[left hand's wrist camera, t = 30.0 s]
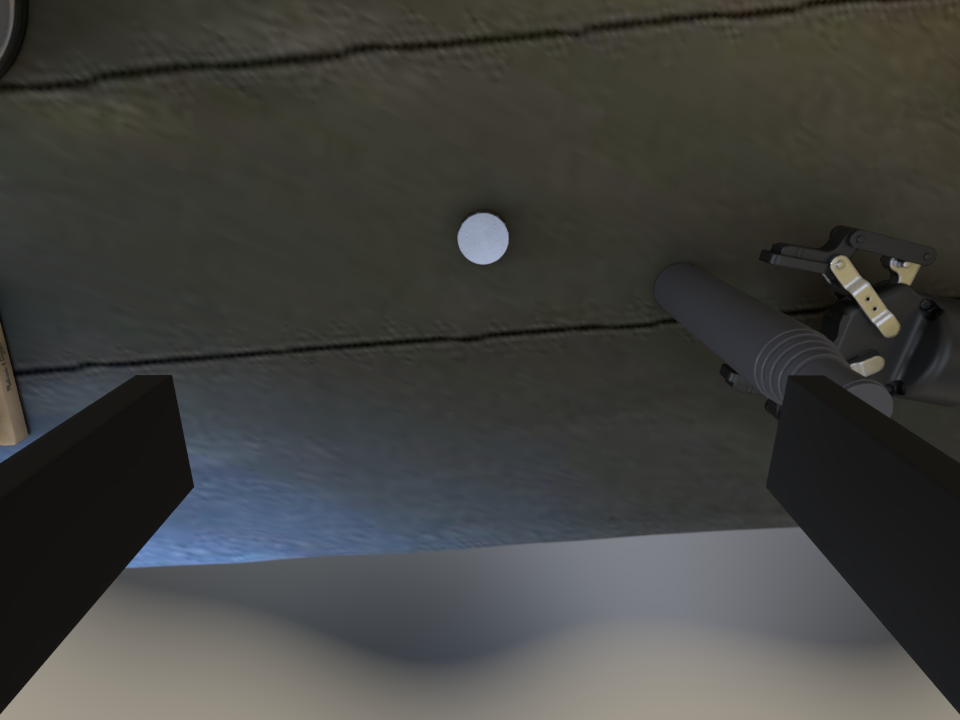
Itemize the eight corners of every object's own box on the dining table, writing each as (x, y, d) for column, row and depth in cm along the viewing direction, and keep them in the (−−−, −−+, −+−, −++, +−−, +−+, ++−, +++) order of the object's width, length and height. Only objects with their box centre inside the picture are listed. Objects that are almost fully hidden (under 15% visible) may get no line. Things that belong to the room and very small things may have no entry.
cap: (458, 209, 44) (456, 212, 42) (508, 208, 44) (509, 212, 42) (459, 259, 45) (457, 265, 43) (507, 259, 45) (509, 264, 43)
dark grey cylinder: (683, 252, 45) (877, 347, 23) (714, 287, 46) (930, 412, 24) (643, 288, 46) (792, 412, 24) (675, 322, 47) (846, 472, 25)
